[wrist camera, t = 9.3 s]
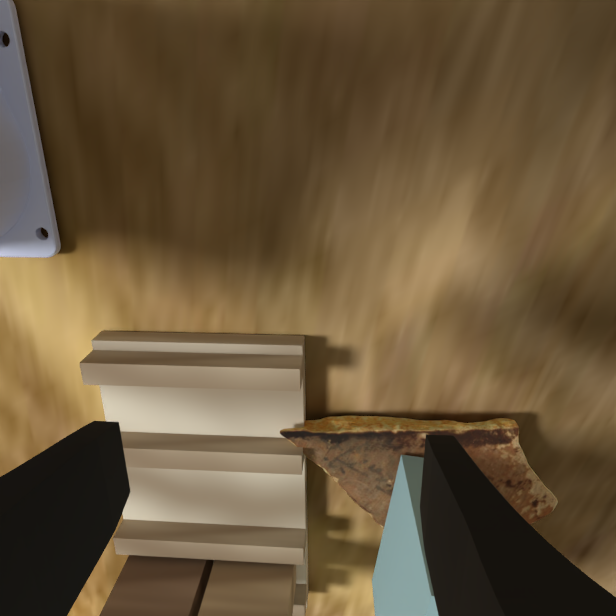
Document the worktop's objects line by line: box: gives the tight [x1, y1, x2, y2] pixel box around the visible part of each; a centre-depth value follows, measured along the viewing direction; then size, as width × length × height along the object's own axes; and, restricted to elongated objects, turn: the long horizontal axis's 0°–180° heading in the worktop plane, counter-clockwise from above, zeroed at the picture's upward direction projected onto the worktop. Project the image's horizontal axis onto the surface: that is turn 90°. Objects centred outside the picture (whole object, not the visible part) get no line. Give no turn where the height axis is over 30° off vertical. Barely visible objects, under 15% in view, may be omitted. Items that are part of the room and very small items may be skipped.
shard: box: [280, 416, 558, 529], centre depth 23 cm, size 11×8×2 cm
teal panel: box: [372, 455, 439, 616], centre depth 20 cm, size 2×7×7 cm, turn 172°
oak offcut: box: [198, 560, 297, 616], centre depth 24 cm, size 2×4×4 cm, turn 91°
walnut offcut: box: [100, 555, 213, 616], centre depth 24 cm, size 2×4×4 cm, turn 91°
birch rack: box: [80, 331, 308, 616], centre depth 24 cm, size 15×9×2 cm, turn 1°
